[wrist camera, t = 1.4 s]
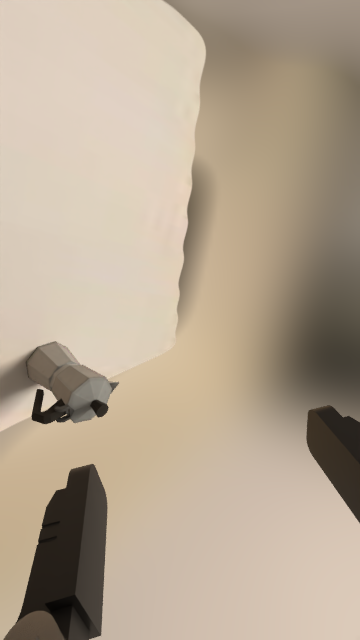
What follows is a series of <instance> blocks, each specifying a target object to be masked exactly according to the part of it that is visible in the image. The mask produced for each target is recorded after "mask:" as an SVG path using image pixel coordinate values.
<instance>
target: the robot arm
mask: <svg viewBox="0 0 360 640" xmlns="http://www.w3.org/2000/svg"><path fill="white" fill-rule="evenodd" d="M307 444H308V447H309V450H310V452H311V454H312V456H313V457H314V459H315V460H316V461H317V463H318V464H319V466H320V467H321V468H322V470H323V471H324V473H325V474H326V476H327V477H328V478H329V480H330V481H331V483H332V484H333V486H334V487H335V488H336V490H337V491H338V493H339V494H340V496H341V497H342V498H343V500H344V501H345V503H346V504H347V506H348V507H349V508H350V510H351V511H352V513H353V514H354V515H355V517H356V518H357V520H358V521H359V522H360V422H358V421H356V420H355V419H353V418H351V417H349V416H347V417H344V418H343V417H342V416H341V415H340V414H339V413H338V412H337V411H336V410H335V409H334V408H333V407H332V406H330V405H327V406H324V407H320V408H316V409H312V410H309V412H308V422H307ZM106 525H107V498H106V494H105V490H104V487H103V485H102V482H101V480H100V477H99V475H98V472H97V470H96V468H95V466H94V464H90V465H86V466H82V467H79V468H75V469H71V471H70V473H69V476H68V481H67V487H66V488H65V489H61V490H57V491H56V492H55V494H54V495H53V497H52V499H51V500H50V502H49V504H48V505H47V507H46V511H45V515H44V519H43V523H42V529H41V531H40V536H39V540H38V542H39V544H38V545H37V548H36V553H35V556H34V561H33V565H32V569H31V573H30V577H29V581H28V585H27V590H26V594H25V598H24V603H23V606H22V609H21V613H20V615H19V618H18V620H17V622H16V624H15V625H14V626H13V627H12V628H11V629H10V631H9V632H8V634H7V635H6V636H5V638H4V640H89V639H91V638H94V637H97V636H101V625H102V606H103V586H104V585H103V584H104V565H105V545H106Z"/></svg>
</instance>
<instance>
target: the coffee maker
mask: <svg viewBox="0 0 360 640" xmlns="http://www.w3.org/2000/svg"><path fill="white" fill-rule="evenodd" d="M26 364H27V371H28V377H29V378H30V379H32V380H34V381H35V382H37V383H38V384H40V385H42V386H43V387H45V388H46V389H48V390H50V391H52V393H53V394H54V396H55V397H56V399H57V400H58V401H57V402H56V403H55V404H54V405H53V406H52V407H50V408H49V409H48V410H47V411H45V412H41V406H42V401H43V395H44V392H43V390H41V389H37V392H36V397H35V402H34V407H33V412H32V420H33V421H37V422H40V423H43V424H48V423H51V422H53V421H55V420H56V421H57V422H65V421H67V420H69V419H71V420H72V421H73V422H74V423H77V422H82V421H87V420H91V419H92V418H93V417H94V416H95V415H97V417H102V416H104V415H105V414H106V413H107V411H108V406H107V402H108V399H109V396H110V394H111V393H112V392H113V390H114V389H115V388H116V386H117V385H118V384H119V382H110V381H108V380H107V378H106V377H105V376H103V375H101V374H99V373H97V372H95V371H93V370H91V369H89V368H88V367H86V366H84V365H80V363H79V362H78V361H77V360H76V358H75V357H74V356H73V354H72V353H71V352H70V350H69V349H68V348H67V347H65V346H63V345H61V344H59V343H57V342H56V341H55V342H52V343H49V344H46V345H42V346H39V347H37V349H36V350H35V351H34V353H33V354H32V355H31V357H30V358H29V359H28V361H27V362H26ZM65 414H67V416H64V417H62V416H63V415H65ZM60 417H62V418H60Z"/></svg>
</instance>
